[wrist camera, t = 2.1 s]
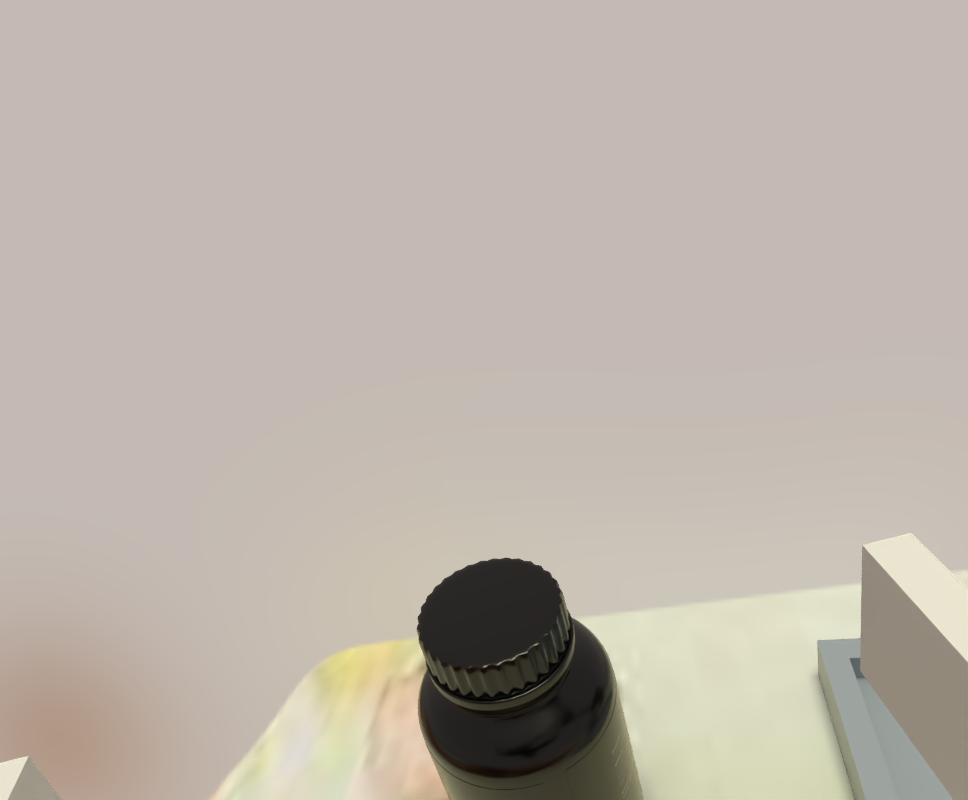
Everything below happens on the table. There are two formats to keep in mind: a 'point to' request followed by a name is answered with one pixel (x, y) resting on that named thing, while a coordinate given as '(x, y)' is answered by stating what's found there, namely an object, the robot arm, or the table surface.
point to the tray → (871, 732)
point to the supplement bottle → (519, 692)
